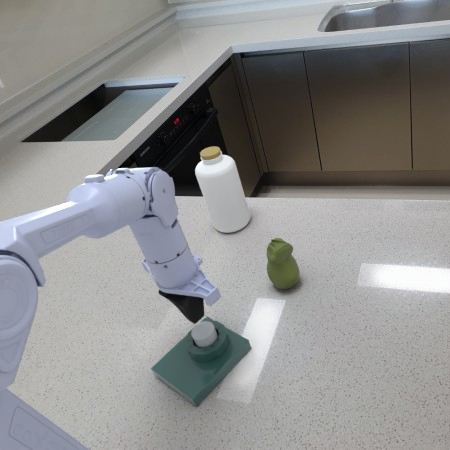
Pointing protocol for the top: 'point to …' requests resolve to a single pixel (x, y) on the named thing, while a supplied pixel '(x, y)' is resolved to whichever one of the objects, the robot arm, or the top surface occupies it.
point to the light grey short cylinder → (204, 334)
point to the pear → (282, 264)
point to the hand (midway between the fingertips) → (197, 318)
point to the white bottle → (222, 190)
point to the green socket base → (201, 363)
